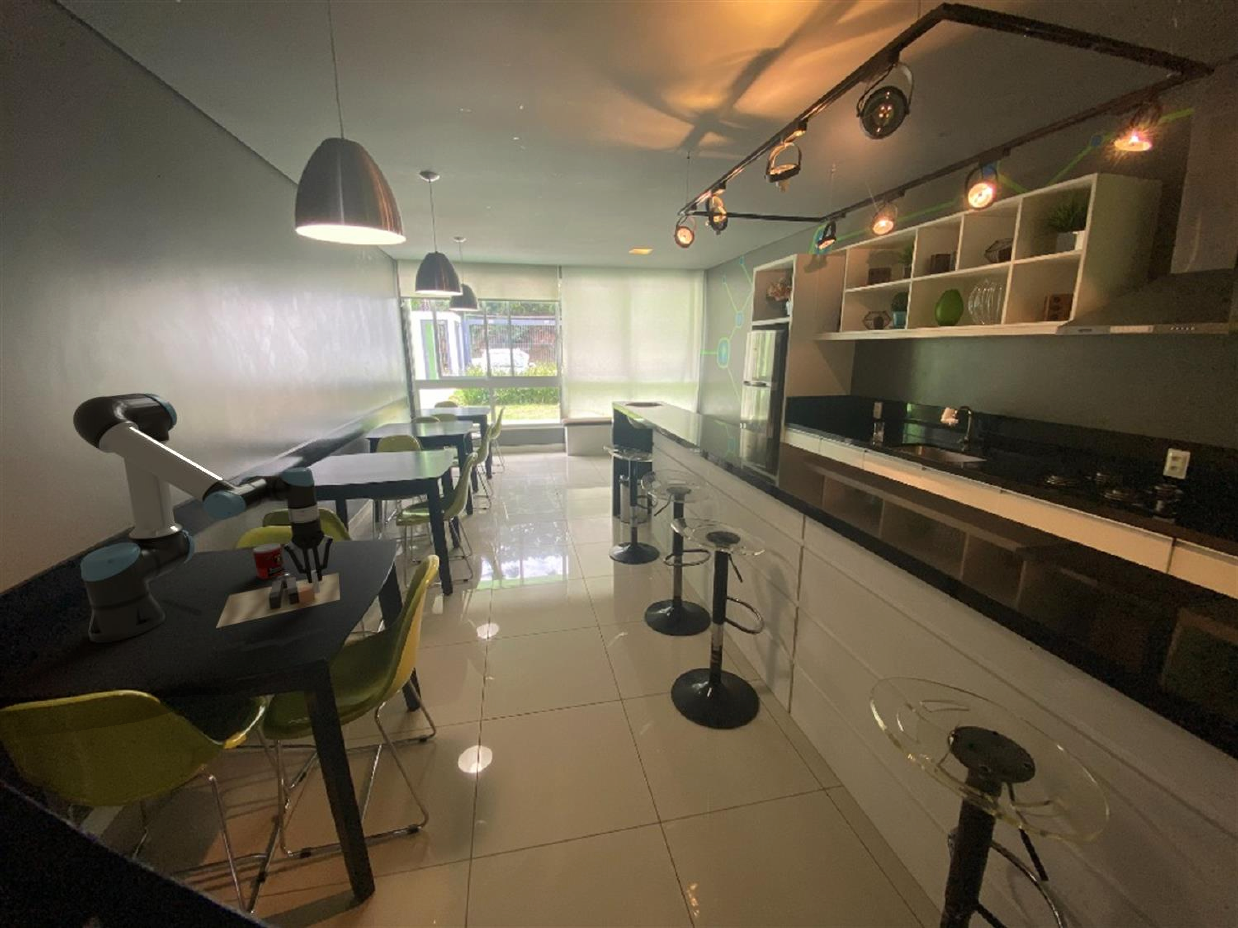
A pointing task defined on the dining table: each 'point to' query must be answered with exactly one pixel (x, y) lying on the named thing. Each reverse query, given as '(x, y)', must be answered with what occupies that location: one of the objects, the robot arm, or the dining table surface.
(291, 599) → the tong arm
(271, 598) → the tongs fixed
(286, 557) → the dining table surface
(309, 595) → the orange block
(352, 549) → the dining table surface
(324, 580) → the board
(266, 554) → the canned food
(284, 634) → the dining table surface
